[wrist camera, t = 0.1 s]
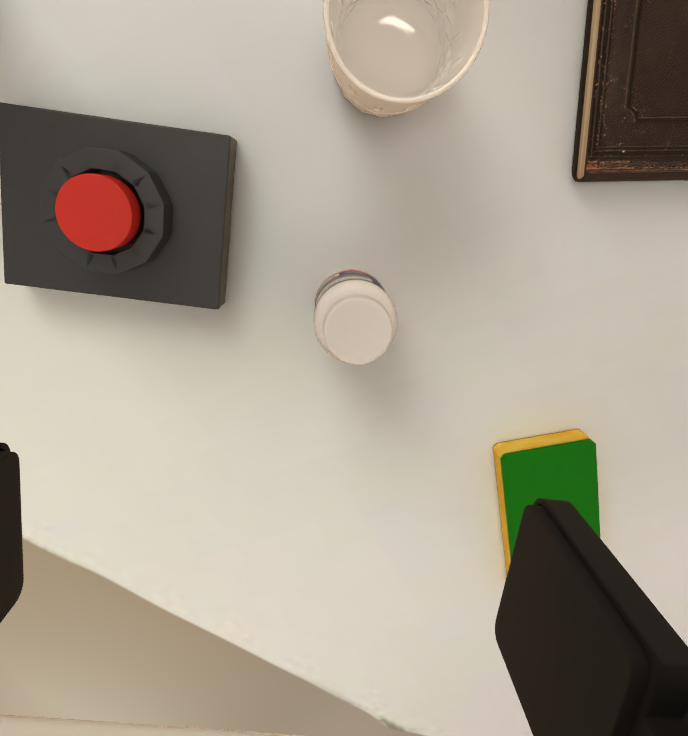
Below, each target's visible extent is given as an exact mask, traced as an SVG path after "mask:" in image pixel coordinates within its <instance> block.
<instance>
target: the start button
mask: <svg viewBox="0 0 688 736" xmlns="http://www.w3.org/2000/svg"><path fill="white" fill-rule="evenodd" d="M55 212H56V218H57V221H58V224H59V226H60V228H61V230H62V231H63V233H64V234H65V235H66V237H67V238H68V239H69V240H70V241H72V242H73V243H74V244H76V245H77V246H79V247H81V248H83V249H86V250H89V251H95V252H102V251H108V250H112V249H116V248H119V247H122V246H124V245H126V244H127V243H129V242H130V241H131V240H132V239H133V238H134V237H135V235H136V234H137V232H138V230H139V227H140V223H141V210H140V206H139V202H138V200H137V198H136V196H135V194H134V193H133V192H132V190H131V189H130V188H129V187H128V186H127V185H126V184H125V183H123V182H122V181H120V180H119V179H117V178H115V177H112V176H108V175H102V174H91V173H87V174H80V175H77V176H74V177H72V178H71V179H69V180H68V181H67V182H66V183H65V184H64V185H63V186H62V187H61V189H60V190H59V192H58V195H57V198H56V203H55Z"/></svg>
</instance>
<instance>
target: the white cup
mask: <svg viewBox="0 0 688 736" xmlns="http://www.w3.org/2000/svg"><path fill="white" fill-rule="evenodd" d="M323 17H324V27H325V33H326V40H327V47H328V53H329V58H330V62H331V66H332V69H333V72H334V75H335V78H336V80H337V82H338V84H339V87H340V89H341V91H342V94H343V96H345V97H346V98H347V99H348V100H349V101H350V102H351V103H352V104H353V105H354V106H356V107H357V108H358V109H359V110H360V111H361V112H365V113H368V114H372V115H376V116H379V117H383V118H384V117H388V116H393V115H397V114H402V113H406V112H408V111H411V110H413V109H415V108H417V107H419V106H421V105H423V104H425V103H427V102H428V101H430V100H432V99H433V98H435V97H436V96H438V95H440V94H441V93H443V92H445V91H446V90H448V89H449V88H451V87H452V86H453V85H454V84H455V83H457V82H458V81H459V80H460V79H461V78H462V77H463V76H464V74H465V73H466V72H467V71H468V69H469V68H470V67H471V65H472V64H473V62H474V61H475V59H476V57H477V55H478V53H479V51H480V49H481V46H482V44H483V41H484V38H485V34H486V30H487V26H488V19H489V0H324V4H323Z"/></svg>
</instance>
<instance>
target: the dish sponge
mask: <svg viewBox="0 0 688 736" xmlns="http://www.w3.org/2000/svg"><path fill="white" fill-rule="evenodd" d="M493 450H494V459H495V468H496V478H497V487H498V497H499V506H500V515H501V525H502V534H503V543H504V553H505V562H506V571H507V574H508V570H509V566H510V562H511V558H512V554H513V550H514V546H515V542H516V538H517V534H518V530H519V526H520V522H521V519H522V515H523V511H524V508H525V507H526V506H527V505H533V503H534V502H535V500H536V499H538V498H543V499H553V500H563V501H569V502H570V503H572V504H573V506H574V507H575V508H576V509H577V511H578V512H579V513H580V514H581V516H582V517H583V518H584V519H585V520H586V522H587V523H588V524H589V525H590V527H591V528H592V529H593V530H594V532H595V533H596V534H597V535H598V537H599V538H600V523H599V502H598V481H597V460H596V444H595V443H594V442H593V441H592V440H591V439H590V438H589V437H588V436H587V435H586V434H584V433H583V432H582V431H581V430H579V429H576V430H570V431H565V432H559V433H553V434H548V435H542V436H536V437H530V438H525V439H519V440H513V441H508V442H502V443H497V444H496V445H495V447H494V448H493Z"/></svg>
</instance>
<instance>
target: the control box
mask: <svg viewBox="0 0 688 736" xmlns="http://www.w3.org/2000/svg"><path fill="white" fill-rule="evenodd" d="M236 142H237V141H236V140H235V139H234V138H232V137H231V136H228V135H221V134H214V133H207V132H200V131H193V130H186V129H179V128H172V127H166V126H159V125H152V124H145V123H138V122H131V121H124V120H117V119H110V118H103V117H97V116H90V115H83V114H76V113H69V112H62V111H55V110H48V109H41V108H34V107H28V106H21V105H14V104H7V103H0V175H1V201H2V226H3V251H4V277H5V283H7V284H15V285H23V286H31V287H39V288H47V289H56V290H64V291H72V292H80V293H88V294H96V295H104V296H112V297H120V298H129V299H137V300H145V301H153V302H161V303H169V304H177V305H185V306H194V307H202V308H210V309H219V308H220V307H221V306H222V305H223V304H224V303H225V292H226V279H227V265H228V251H229V237H230V224H231V210H232V196H233V183H234V169H235V155H236ZM87 173H91V174H102V175H108V176H112V177H115V178H117V179H119V180H120V181H122V182H123V183H125V184H126V185H127V186H128V187H129V188H130V189H131V190H132V192H133V193H134V194H135V196H136V198H137V200H138V202H139V206H140V210H141V223H140V227H139V230H138V232H137V234H136V235H135V237H134V238H133V239H132V240H131V241H130V242H129V243H127V244H126V245H124V246H122V247H119V248H116V249H112V250H108V251H102V252H95V251H89V250H86V249H83V248H81V247H79V246H77V245H76V244H74V243H73V242H72V241H70V240H69V239H68V238H67V237H66V235H65V234H64V233H63V231H62V230H61V228H60V226H59V224H58V221H57V218H56V212H55V203H56V198H57V195H58V192H59V190H60V189H61V187H62V186H63V185H64V184H65V183H66V182H67V181H68V180H69V179H71V178H72V177H74V176H77V175H80V174H87Z"/></svg>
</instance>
